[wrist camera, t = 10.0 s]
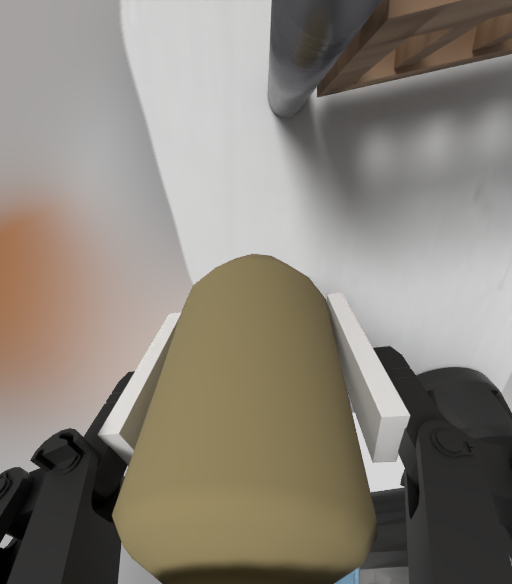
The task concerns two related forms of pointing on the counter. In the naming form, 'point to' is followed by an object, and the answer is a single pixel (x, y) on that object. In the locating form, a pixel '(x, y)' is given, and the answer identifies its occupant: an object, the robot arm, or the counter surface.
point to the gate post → (308, 45)
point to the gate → (420, 41)
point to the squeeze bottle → (249, 441)
